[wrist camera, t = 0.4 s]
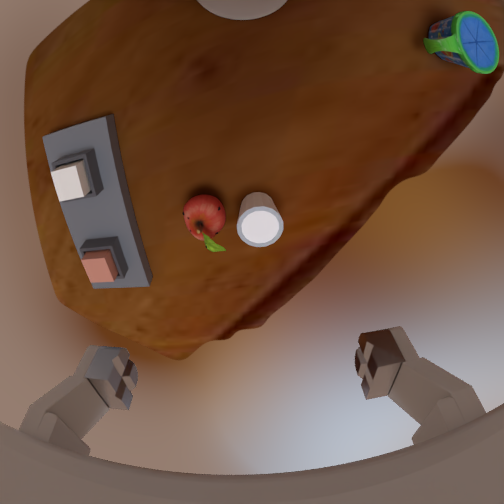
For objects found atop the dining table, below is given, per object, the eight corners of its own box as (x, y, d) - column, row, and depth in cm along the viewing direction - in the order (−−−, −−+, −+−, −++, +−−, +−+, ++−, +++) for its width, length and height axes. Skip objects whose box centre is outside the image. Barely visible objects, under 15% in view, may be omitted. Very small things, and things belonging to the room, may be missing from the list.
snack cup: (463, 18, 26) (499, 17, 18) (475, 68, 32) (512, 74, 24) (400, 14, 29) (435, 6, 20) (417, 70, 34) (454, 74, 26)
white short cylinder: (274, 227, 50) (279, 249, 45) (234, 223, 50) (234, 245, 44) (281, 190, 47) (287, 209, 41) (239, 186, 46) (239, 204, 40)
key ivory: (60, 165, 36) (50, 172, 34) (84, 159, 36) (75, 165, 34) (68, 193, 39) (59, 201, 37) (92, 188, 39) (84, 196, 37)
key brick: (87, 250, 45) (81, 259, 43) (110, 247, 45) (104, 257, 43) (96, 272, 48) (91, 282, 46) (119, 271, 48) (114, 281, 46)
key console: (51, 132, 37) (32, 141, 32) (113, 113, 37) (97, 120, 32) (98, 279, 55) (88, 298, 50) (152, 276, 55) (145, 296, 50)
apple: (181, 216, 48) (170, 248, 40) (193, 180, 45) (182, 206, 37) (224, 229, 50) (221, 263, 42) (238, 195, 47) (237, 224, 38)
